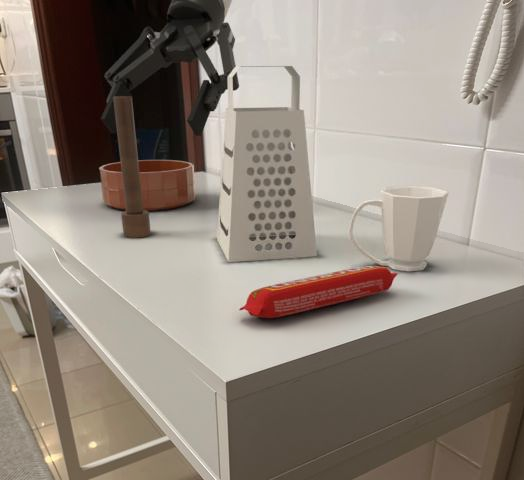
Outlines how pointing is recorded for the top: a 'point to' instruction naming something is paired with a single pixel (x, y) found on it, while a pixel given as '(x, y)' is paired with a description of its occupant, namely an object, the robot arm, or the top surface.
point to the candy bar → (318, 291)
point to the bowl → (151, 184)
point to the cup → (407, 224)
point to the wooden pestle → (130, 171)
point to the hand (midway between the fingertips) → (149, 127)
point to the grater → (265, 180)
